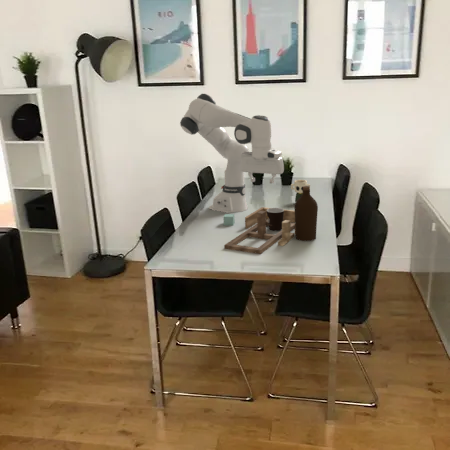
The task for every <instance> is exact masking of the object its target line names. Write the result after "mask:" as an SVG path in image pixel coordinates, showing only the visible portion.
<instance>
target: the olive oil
mask: <svg viewBox="0 0 450 450" xmlns="http://www.w3.org/2000/svg"><path fill="white" fill-rule="evenodd" d="M318 208H319V205H318V202H317V201H316V199H315V198H314V197H312V195H311V185H310V186H303V194H302V196H301V197H300V198H299V199H298V200H297V201H296V202H295V203H294V211H295V223H294V224H295V229H294V231H295V230H296V235H295V239H296V240H297V241H300V242H301V241H302V242H310V241H311V242H312V241H314V240H316V239H317V226H318V223H317V222H318V210H319V209H318Z"/></svg>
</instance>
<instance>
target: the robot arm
mask: <svg viewBox="0 0 450 450" xmlns="http://www.w3.org/2000/svg"><path fill="white" fill-rule="evenodd" d="M179 125H180V127H181V129H182V130H183V131H184V132H185V133H186V134H189V135H196V134H197V133H198V134H199V136H200V137H202V138H204V140H206V142H207V143H209V144H210V145H211V146H212V147H213V148H214V149H215V150H216V151H217V152H218V154H219V155H220V156H222V157H223V158H224V159H226V160H227V163H226V167H225V170H224V184H223V185H222V186H221V188H220V189H221V190H222V191H220V193H218V194H217V195H216V196H214V198H213V200H212V204H210V206H209V207H208V210H210V209H212V210H211V211H215V210H217V211H216V212H220V211H221V213H225V212H226V213H225V214H233V213H239V212H241V213H242V212H244V211H247V210H248V209H249V206H248V204H247V199H246V184H245V173H247V174H248V177H249V178H250V182H251V183H255V182H256V177H254V176H253V174H267V175H268V174H269V175H270V174H271V177H272V178H270V179H269V184H274V183H275V178H276V177H277V175H282V174H283V173H284V171H285V165H284V159H283V157H281V156H282V155H283V154H282V151H281V150H278V149H276V148H273V147H272V142H271V139H272V126H271V125H272V124H271V121H270V118H269V117H267V116H265V115H259V114H257V115H253V116H252V117H251V118H250V117H248V116H245V115H242V114H239V113H236V112H233V111H231V110H228V109H226V108H224V107H222V106H219V105H217V104H216V101H215V99H214V98H213V97H212V96H210V95H209V94H207V93H201V94H200V95H198V96H197V98H195V99H193V100H192V101H191V102H190V103H189V104H188V109H187V110H186V112H185V114H184V115H183V117H182V118H181V120H180V123H179ZM227 127H231V128H234V131H233V133H234V138H232V137H231V136H230V134H229V133H228V132H227V130H226V129H225V128H227ZM247 144H248V145H249V144H251V151H250V150H249V149H250V148H249V147H248V146H247Z"/></svg>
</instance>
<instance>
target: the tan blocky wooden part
mask: <svg viewBox="0 0 450 450" xmlns="http://www.w3.org/2000/svg"><path fill="white" fill-rule="evenodd" d="M291 223H292V222H291V221H290V220H285V221H283V222H282V238H281V239H280V240H279V241H277V247H278V246H280V247H284V246H285V245H286V244H287V243H289V242H290V241H291V240H292V239H294V238H295V232H292V231H291Z"/></svg>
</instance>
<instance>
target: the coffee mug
mask: <svg viewBox="0 0 450 450" xmlns="http://www.w3.org/2000/svg"><path fill="white" fill-rule="evenodd" d="M268 208H269V209H267V218H268V219H267V220H268V225H269V226H268V230H269V231H272V232H280V231H281V230H282V222H283V216H284V210H285V209H284V208H281V207H268Z"/></svg>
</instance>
